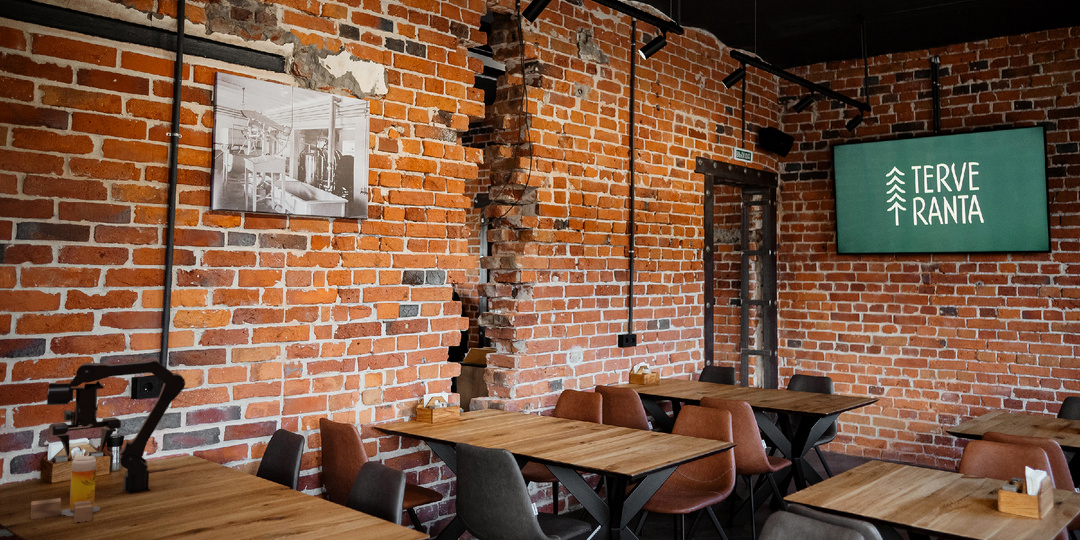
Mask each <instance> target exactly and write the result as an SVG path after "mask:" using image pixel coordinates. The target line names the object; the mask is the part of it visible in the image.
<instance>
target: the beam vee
mask: <svg viewBox="0 0 1080 540" xmlns="http://www.w3.org/2000/svg"><path fill="white" fill-rule="evenodd" d="M30 505H31V506H30V519H31V520H36V519H37V518H38V519H46V518H51V517H52V516H53V517H59V516H58V515H61V516H63V515H66V516H65V517H73V516H74V517H73V521H74V524H78V523H77V522H80V523H86V522H85V521H87V522H92V518H93V516H92V515H93V514H95V513H98V512H99V511H100V510H101V507H100V506H98V505H94V506H93V507H92V505H91V501H81V502H74V512H73V511H72V510H71V509H70V507H69V508H65V509H63V510H62V499H61V497H58V498H51V499H41V500H40V499H39V500H35V501H33V500H32V501H31V502H30ZM97 511H98V512H97ZM94 512H95V513H94ZM45 517H46V518H45Z"/></svg>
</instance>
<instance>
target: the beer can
mask: <svg viewBox="0 0 1080 540" xmlns="http://www.w3.org/2000/svg"><path fill="white" fill-rule="evenodd" d="M96 470H97V459H96V457H95V456H93V455H81V456H77V457H74V458H73V460H72V461H71V474H70V476H71V477H70V478H71V479H70V492H69V493H70V494H69V496H70V497H69V508H70V509H71V510H72V511H73V512H74V502H81V501H91V505H92V507H93V506H95V491H96V475H97V474H96V473H97V472H96Z"/></svg>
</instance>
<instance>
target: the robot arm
mask: <svg viewBox="0 0 1080 540" xmlns="http://www.w3.org/2000/svg"><path fill="white" fill-rule="evenodd" d="M139 374H141V375H142V374H153V376H155V377H156V378H157V379H159V380H160V382H162V383H163V384H162V387H161V390H160V393H159V397H158V399H157V400H156V402H155V404H154V405H153V407H152V408H151V410H150V411H149V414H148V415H147V417H146V419H145V420H144V421H143V423H142V425H141V427H140V429H139V430H138V432H137V434H136V435H135V436H134V437H133V439H132V440H129V439H126V440H125V443H124V446H123V447H122V449H120V450H119V456H120V457H119V462H120V465H121V466H122V467H123V468H124V469H126V471H124V476H123V477H122V491H124V492H125V493H127V494H135V493H136V494H137V493H142V492H147V491H151V487H149V485H150V470H149V469H148V467H149V465H148V461H147V459H145V458H144V453H145V449H146V446H147V444H148V441H149V440H150V438H151V436H152V435H153V433H154V432H155V430H156V428H157V427H158V424H159V423H160V421H161V420H162V418H163V416H164V414H165V413H166V411H167V410H168V408H169V406H170V404H171V403H172V402H173V401H174V400H175V399H176V398H177V397H178V396H179V395H180V393H181V392H182V391H183V390H184V389H185V386H186V381H185V379H184V377H183V376H182V375H181V374H180V373H176V372H172V371H171V370H170V369H168V368H167V367H166V366H164V365H163V364H161V363H160V361H158V360H157V359H151V360H145V361H133V362H121V363H112V364H111V363H101V362H84V363H81V364H80V365H79V366H78V368H77V370H76V373H75V376H74V377H73V378H72V379H71V380H70V382H60V383H59V382H49V384H48V389H47V390H48V392H47V395H46V405H47V406H63V405H67V406H68V405H69V404H70V403H71V402H74V392H75V406H74V410H72V409H68V410H64V411H63V419H64V422H63V421H62V422H54V423H50V425H49V426H48V434H50V435H52V436H54V437H56V438H58V439H59V440H60V442H61V445H62V446H63V449H64V452H65V455H66V457H69V456H70V450H71V449H70V434H68V432H70V431H78V430H88V429H98V428H100V432H101V436H100V442H99V443H100V445H99V452H100V453H102V452H104V449H105V447H106V445H107V443H108V442H109V441H108V440H109V439H110V438H111V435H112V434H113V433H114V432H117V429H121V428H122V421H121V419H119V418H117V417H105V418H102V420H101V421H98V419H97V412H98V406H97V405H98V390H103V389H105V385H104V384H102V383H101V382H100V380H103V379H107V378H111V377H120V376H129V375H139ZM93 382H95V383H93ZM82 384H84V386H80V385H82ZM65 422H70V424H68V423H65Z"/></svg>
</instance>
